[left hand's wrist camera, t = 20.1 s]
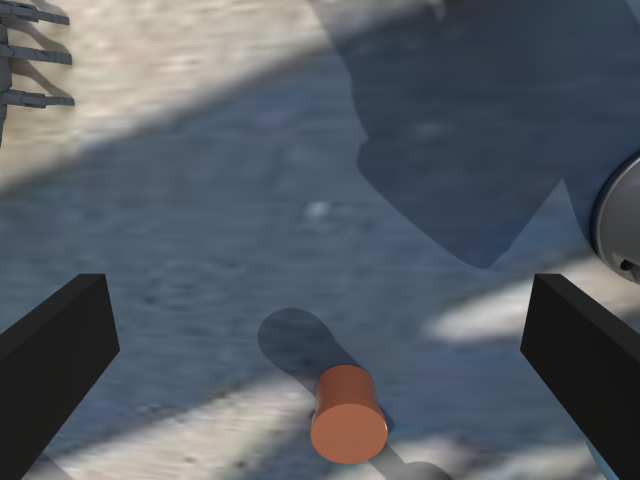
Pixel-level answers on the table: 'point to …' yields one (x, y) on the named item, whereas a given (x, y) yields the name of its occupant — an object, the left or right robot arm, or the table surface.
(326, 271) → the table surface
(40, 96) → the toy
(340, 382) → the terracotta cylinder
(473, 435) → the table surface
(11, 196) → the table surface
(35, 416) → the left robot arm
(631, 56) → the table surface
